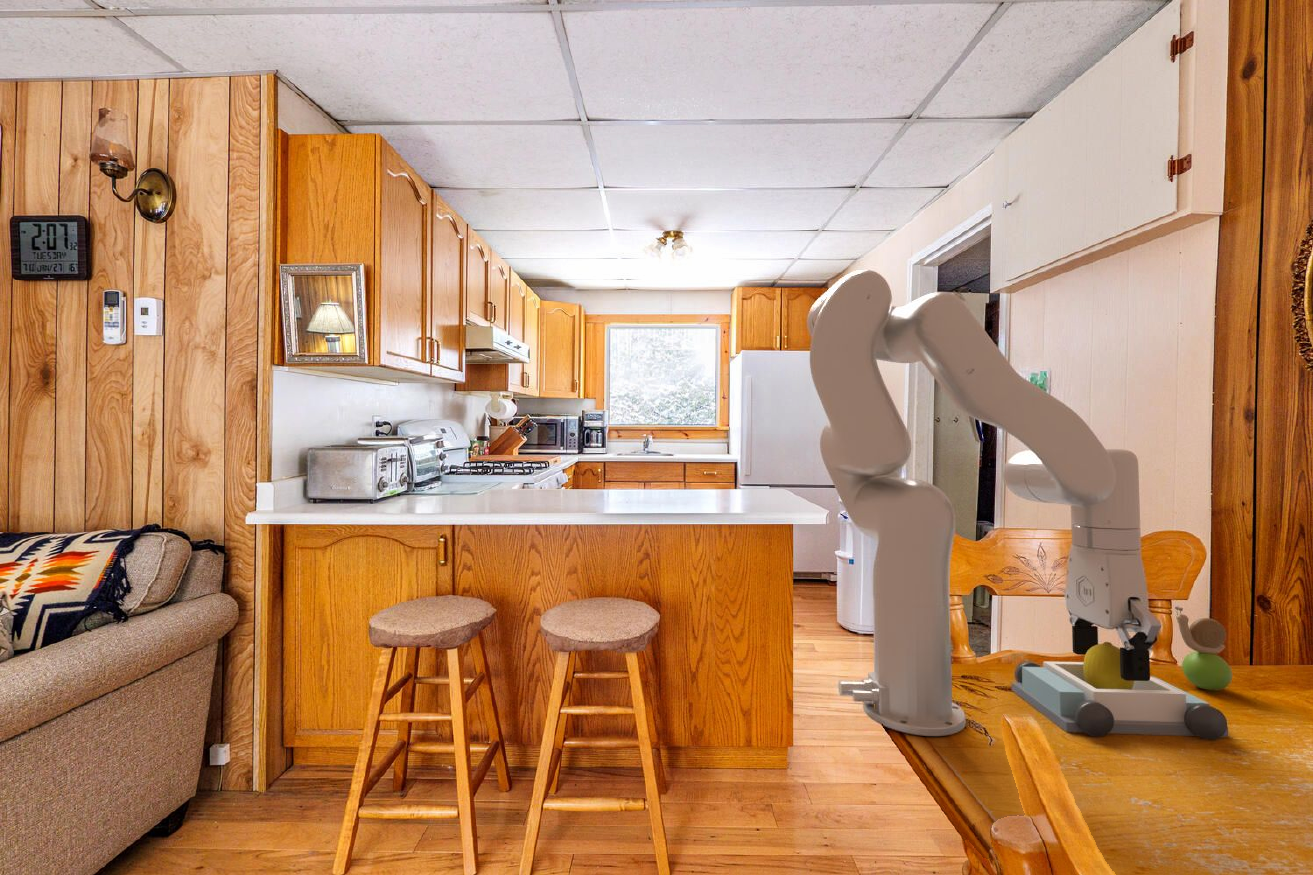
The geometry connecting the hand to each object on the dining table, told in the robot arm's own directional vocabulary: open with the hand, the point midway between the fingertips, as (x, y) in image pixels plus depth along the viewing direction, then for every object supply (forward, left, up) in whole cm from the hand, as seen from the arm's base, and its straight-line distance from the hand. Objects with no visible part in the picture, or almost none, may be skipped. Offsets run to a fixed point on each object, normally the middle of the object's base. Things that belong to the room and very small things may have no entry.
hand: (1108, 666), depth 79 cm
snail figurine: (+19, +9, -6) cm, 22 cm away
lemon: (0, 0, -5) cm, 5 cm away
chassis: (0, 0, -6) cm, 6 cm away
